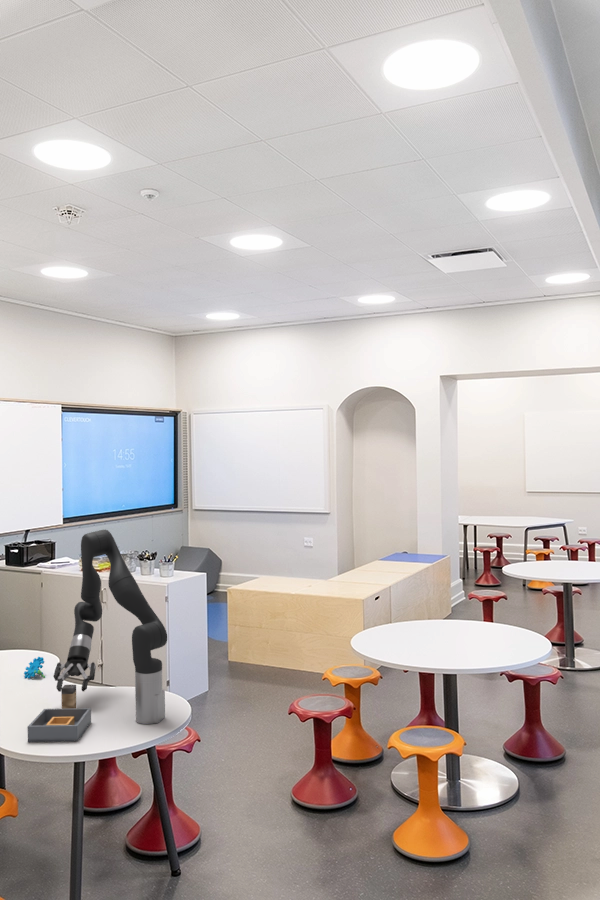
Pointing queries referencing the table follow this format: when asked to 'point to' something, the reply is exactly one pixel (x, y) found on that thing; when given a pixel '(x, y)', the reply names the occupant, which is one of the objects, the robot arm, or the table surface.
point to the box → (59, 725)
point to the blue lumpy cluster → (34, 668)
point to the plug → (68, 696)
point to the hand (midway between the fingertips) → (71, 690)
